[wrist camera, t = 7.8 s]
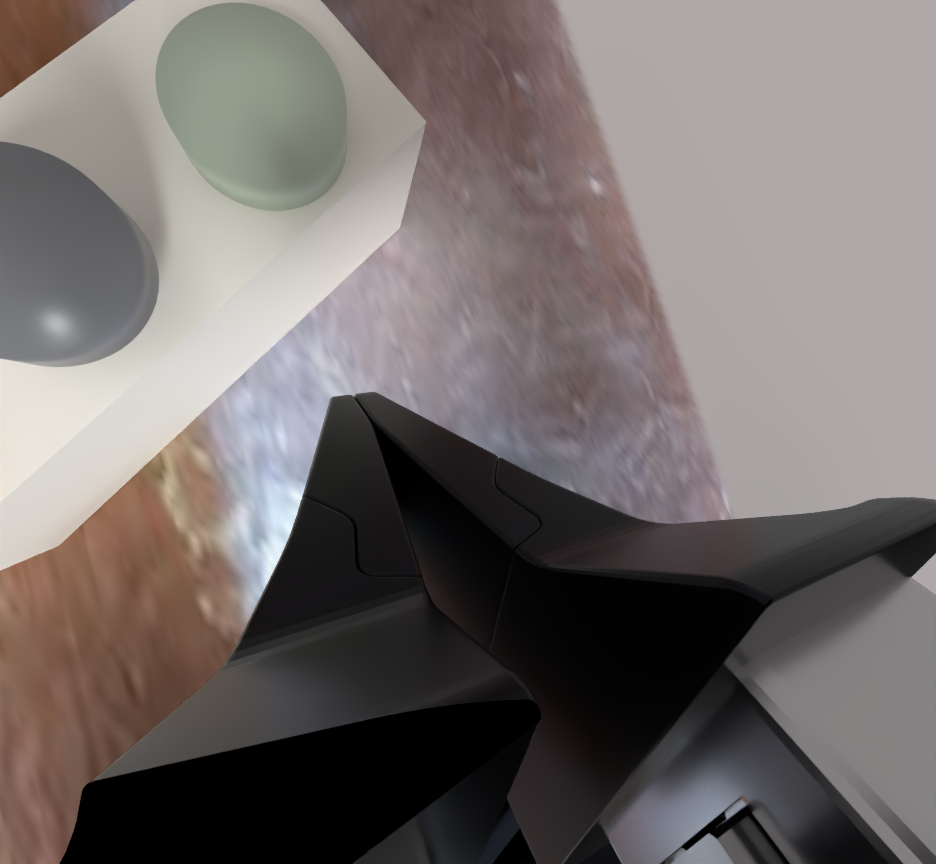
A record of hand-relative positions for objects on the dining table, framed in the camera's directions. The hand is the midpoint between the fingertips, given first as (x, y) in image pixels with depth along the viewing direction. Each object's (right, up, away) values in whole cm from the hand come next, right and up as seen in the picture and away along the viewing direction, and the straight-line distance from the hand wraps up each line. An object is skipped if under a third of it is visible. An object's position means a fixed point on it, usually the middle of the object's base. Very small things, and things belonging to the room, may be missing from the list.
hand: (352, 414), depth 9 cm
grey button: (-8, +3, +2) cm, 9 cm away
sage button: (-3, +8, +4) cm, 10 cm away
